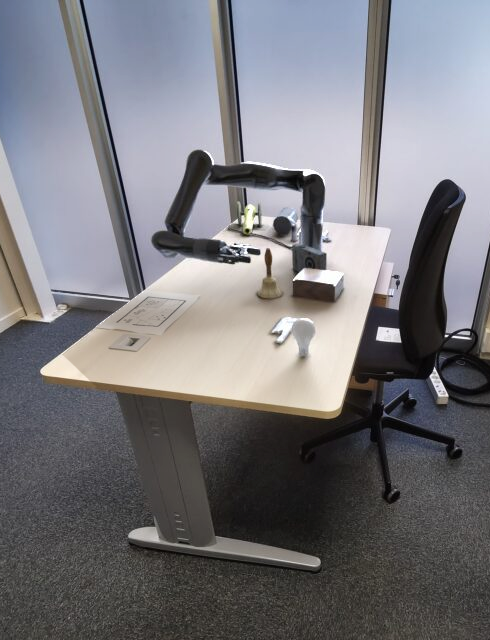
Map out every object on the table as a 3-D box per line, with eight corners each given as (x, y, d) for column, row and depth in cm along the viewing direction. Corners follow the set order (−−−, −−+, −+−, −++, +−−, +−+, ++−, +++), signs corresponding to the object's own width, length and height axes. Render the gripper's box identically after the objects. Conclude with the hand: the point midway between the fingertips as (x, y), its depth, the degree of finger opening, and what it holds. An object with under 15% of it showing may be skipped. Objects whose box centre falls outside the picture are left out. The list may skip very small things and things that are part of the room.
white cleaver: (264, 341, 127) (264, 337, 126) (282, 319, 139) (282, 316, 138) (281, 343, 126) (281, 340, 125) (297, 321, 138) (297, 318, 137)
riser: (292, 296, 154) (292, 279, 151) (303, 283, 165) (303, 266, 161) (334, 302, 152) (335, 285, 148) (343, 288, 162) (343, 272, 159)
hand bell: (285, 291, 157) (284, 247, 148) (275, 300, 150) (272, 254, 141) (264, 287, 159) (262, 243, 150) (253, 296, 152) (249, 250, 143)
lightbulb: (292, 349, 124) (291, 313, 117) (315, 349, 124) (315, 313, 118) (291, 361, 118) (290, 324, 112) (315, 361, 119) (315, 324, 113)
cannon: (260, 235, 211) (258, 211, 205) (234, 235, 210) (232, 210, 203) (262, 222, 231) (261, 199, 225) (239, 221, 230) (237, 198, 224)
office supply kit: (329, 244, 205) (329, 223, 200) (269, 240, 206) (268, 219, 201) (336, 222, 238) (337, 204, 233) (285, 218, 239) (284, 200, 234)
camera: (290, 268, 176) (290, 243, 171) (298, 266, 179) (297, 241, 173) (319, 280, 167) (319, 254, 162) (326, 278, 170) (327, 252, 164)
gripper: (221, 254, 158) (264, 260, 156) (201, 267, 147) (247, 273, 144) (218, 233, 154) (262, 238, 152) (198, 245, 143) (245, 251, 140)
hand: (255, 255), depth 148 cm, fingers open, 8 cm apart
